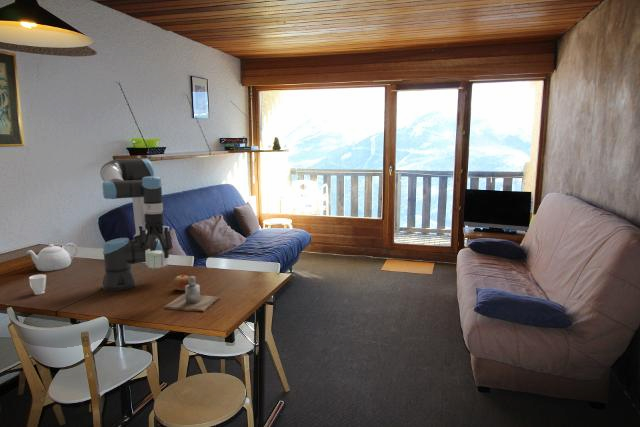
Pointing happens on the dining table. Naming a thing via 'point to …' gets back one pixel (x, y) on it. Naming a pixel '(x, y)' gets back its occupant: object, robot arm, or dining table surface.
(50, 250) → the teapot
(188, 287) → the bottle on square board
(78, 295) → the dining table surface
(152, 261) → the cap
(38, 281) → the cup
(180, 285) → the apple
